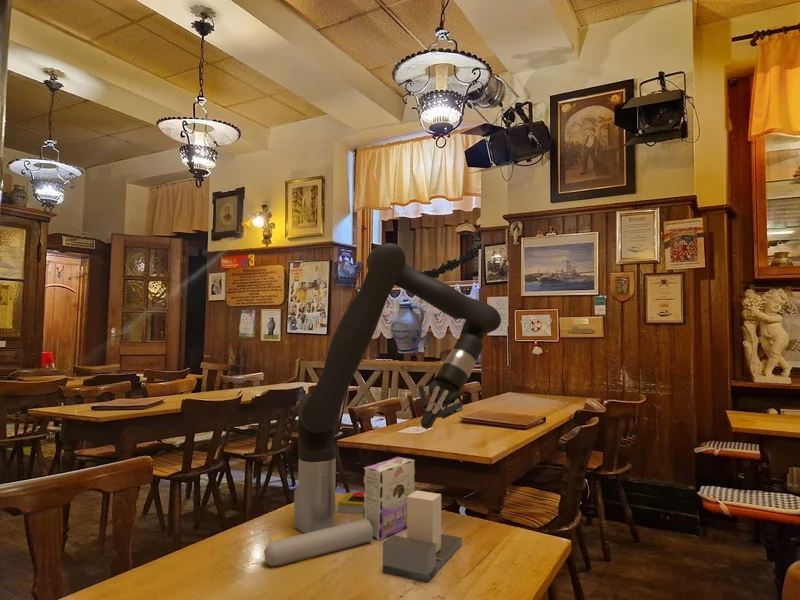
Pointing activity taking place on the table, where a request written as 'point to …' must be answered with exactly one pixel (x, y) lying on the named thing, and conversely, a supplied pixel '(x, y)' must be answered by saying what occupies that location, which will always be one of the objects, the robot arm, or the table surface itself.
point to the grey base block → (417, 556)
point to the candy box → (388, 495)
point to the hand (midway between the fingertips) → (424, 427)
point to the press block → (424, 517)
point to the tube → (318, 542)
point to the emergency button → (351, 503)
